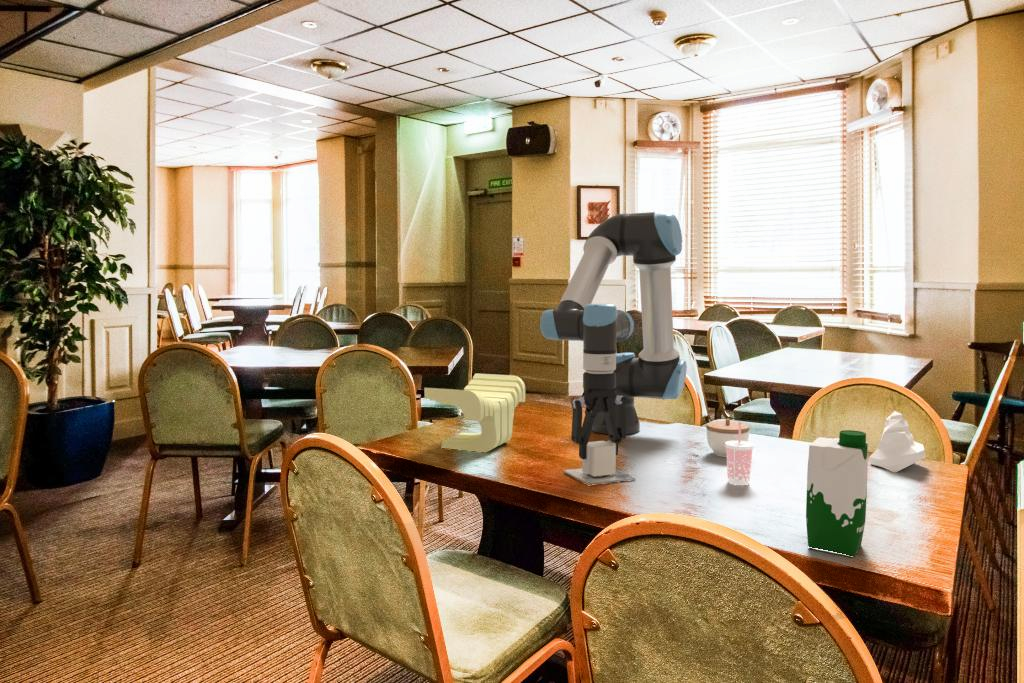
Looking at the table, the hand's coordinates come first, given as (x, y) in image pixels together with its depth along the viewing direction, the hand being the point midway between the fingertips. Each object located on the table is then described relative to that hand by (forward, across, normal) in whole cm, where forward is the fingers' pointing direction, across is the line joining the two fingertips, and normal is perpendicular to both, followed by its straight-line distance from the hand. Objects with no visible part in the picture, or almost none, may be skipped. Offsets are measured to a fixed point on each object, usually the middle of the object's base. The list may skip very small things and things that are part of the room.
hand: (598, 470), depth 166 cm
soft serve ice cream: (+2, +71, -21) cm, 74 cm away
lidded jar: (+2, +41, +5) cm, 41 cm away
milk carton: (+2, +15, -54) cm, 56 cm away
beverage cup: (+2, +26, -17) cm, 31 cm away
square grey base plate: (+1, 0, 0) cm, 1 cm away
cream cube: (0, 0, 0) cm, 0 cm away
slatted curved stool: (+2, -15, +40) cm, 43 cm away
